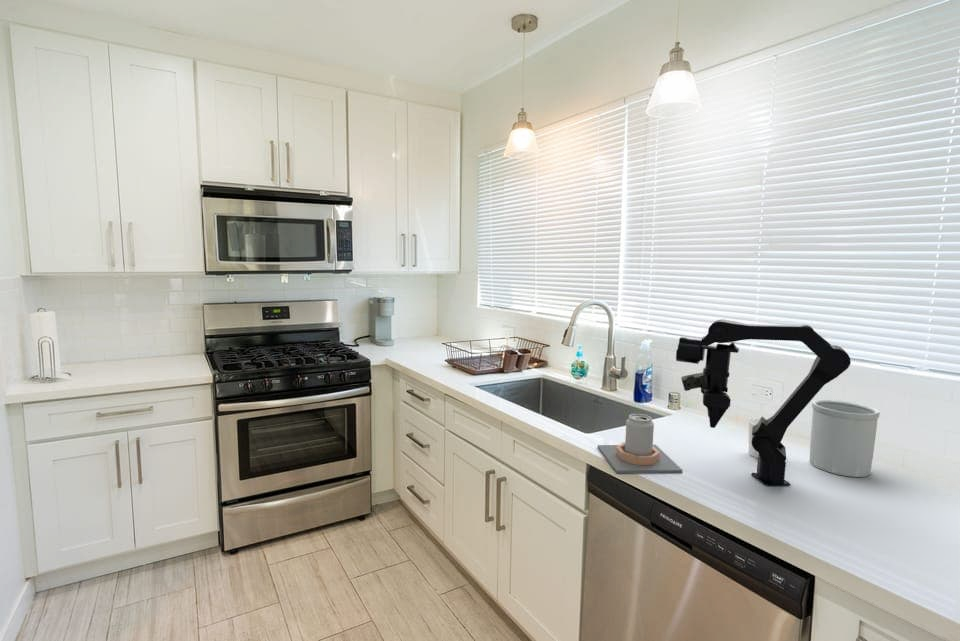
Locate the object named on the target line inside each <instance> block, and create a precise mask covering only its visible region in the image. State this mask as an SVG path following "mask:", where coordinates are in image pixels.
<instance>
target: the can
mask: <svg viewBox="0 0 960 641" xmlns="http://www.w3.org/2000/svg"><path fill="white" fill-rule="evenodd" d="M654 425H655V424H654V422H653V421H652V417H651V416H649V415H647V414H643V413H631V414H630V415H628V418H627V419H626V423H625V437H624V438H625V441H624V442H625V452H626V453H629V454H633V455H636V456H651V455H652V449H653V445H654V431H655V430H654V429H655V428H654Z"/></svg>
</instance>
